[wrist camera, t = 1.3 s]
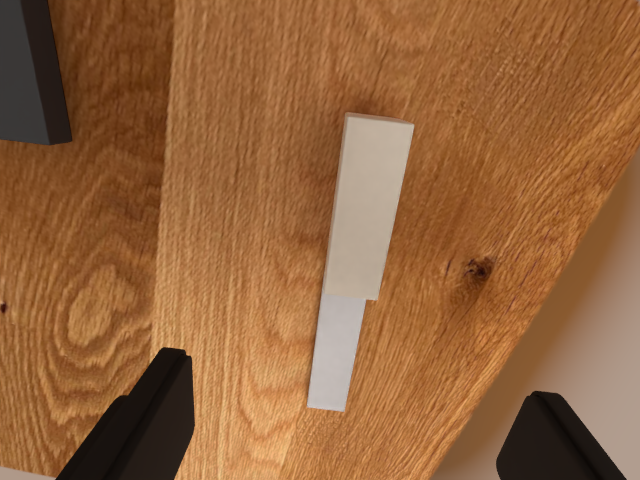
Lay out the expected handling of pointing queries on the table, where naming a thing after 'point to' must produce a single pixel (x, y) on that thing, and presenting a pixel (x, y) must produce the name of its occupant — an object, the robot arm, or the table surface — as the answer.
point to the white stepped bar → (356, 246)
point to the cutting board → (30, 76)
